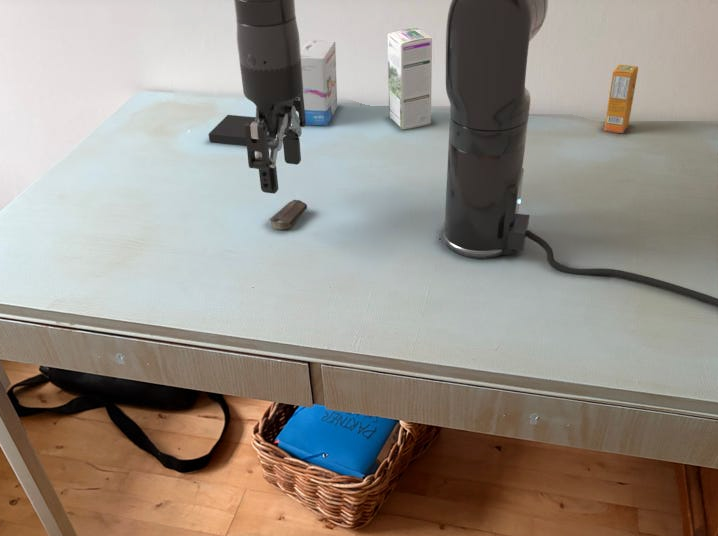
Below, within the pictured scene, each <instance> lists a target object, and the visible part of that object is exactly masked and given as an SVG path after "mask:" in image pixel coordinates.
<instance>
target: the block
mask: <svg viewBox="0 0 718 536" xmlns="http://www.w3.org/2000/svg"><path fill="white" fill-rule="evenodd" d="M307 209H308V205H307V203H305V202H304V201H302V200H300V199H293V200H291V201H289V202H288V203H286V204H285V205H284V206H283V207H281V209H280V210H278V211H277V212H276V213H275V214H274V215H272V217H270V218H269V219H268V223H269V225H270V227H271V228H272V229H275V230H286V229H290V228H292V227H293V226H294V224H295V223H296V222H297V221H298V220H299V219H300V218H301V216H302V215H303V214H304V213H305V212H306V210H307Z"/></svg>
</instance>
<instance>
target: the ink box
mask: <svg viewBox="0 0 718 536" xmlns="http://www.w3.org/2000/svg"><path fill="white" fill-rule="evenodd" d="M300 53H301V66H302V80H303V98H304V108H305V119H306V124H305V126H306V125H308V126H324V127H325V126H326V127H327V126H328V125H329V123H330V121H331V119H332V117H333V116H334V114H335V113H336V110H337V108H338V83H337V81H338V80H337V55H336V53H337V52H336V41H330V40H329V41H328V40H327V41H326V40H318V39H309V40H307V41H306V43H305V44H304V45H303V47H302V48H300Z"/></svg>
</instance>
